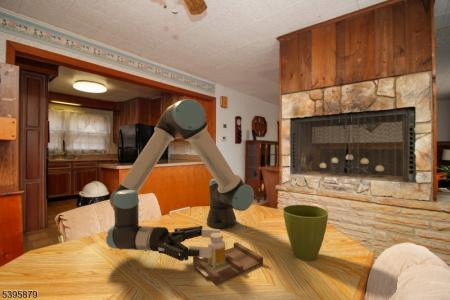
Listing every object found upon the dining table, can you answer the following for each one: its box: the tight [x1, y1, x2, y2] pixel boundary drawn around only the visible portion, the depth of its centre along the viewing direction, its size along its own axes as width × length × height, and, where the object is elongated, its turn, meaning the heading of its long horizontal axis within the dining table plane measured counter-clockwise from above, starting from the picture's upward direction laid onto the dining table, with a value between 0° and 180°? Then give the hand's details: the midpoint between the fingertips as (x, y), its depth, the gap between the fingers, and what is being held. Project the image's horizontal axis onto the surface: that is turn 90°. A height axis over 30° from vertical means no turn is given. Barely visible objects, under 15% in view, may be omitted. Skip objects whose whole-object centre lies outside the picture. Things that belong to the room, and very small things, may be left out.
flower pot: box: [282, 204, 329, 261], centre depth 76 cm, size 15×15×16 cm
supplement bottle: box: [207, 232, 226, 269], centre depth 68 cm, size 5×5×10 cm
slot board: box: [192, 241, 264, 286], centre depth 71 cm, size 14×20×2 cm
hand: (216, 242), depth 68 cm, fingers open, 13 cm apart
